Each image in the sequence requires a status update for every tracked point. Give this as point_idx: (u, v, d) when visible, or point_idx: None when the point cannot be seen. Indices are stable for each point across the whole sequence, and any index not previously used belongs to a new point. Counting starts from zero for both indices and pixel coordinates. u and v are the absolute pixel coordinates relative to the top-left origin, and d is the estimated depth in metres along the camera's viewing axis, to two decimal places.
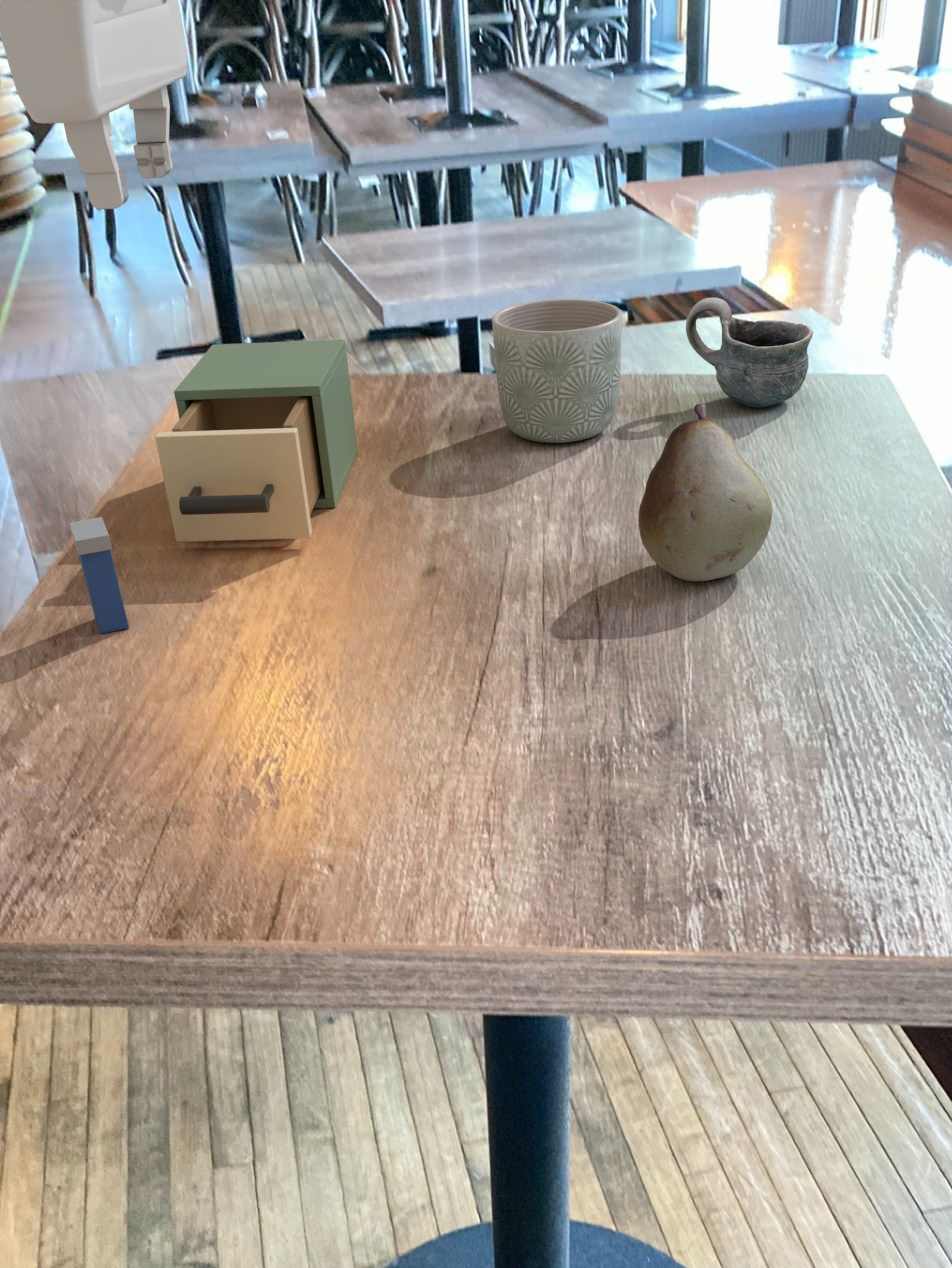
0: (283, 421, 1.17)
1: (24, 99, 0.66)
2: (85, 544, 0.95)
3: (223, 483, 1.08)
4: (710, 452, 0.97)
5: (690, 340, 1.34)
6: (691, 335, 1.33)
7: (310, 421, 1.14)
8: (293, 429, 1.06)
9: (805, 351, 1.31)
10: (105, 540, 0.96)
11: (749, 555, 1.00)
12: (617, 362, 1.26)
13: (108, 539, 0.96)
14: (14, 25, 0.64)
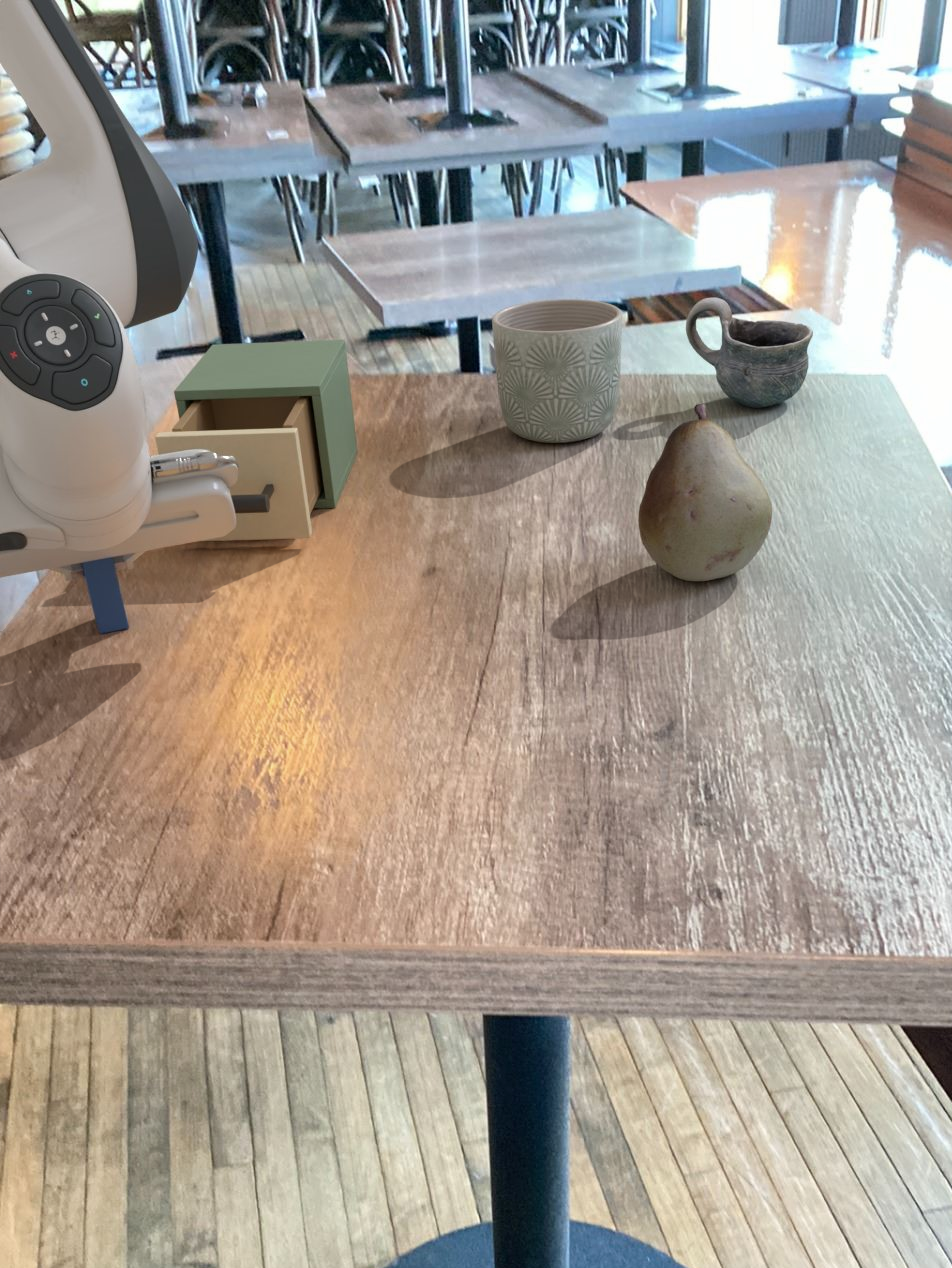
0: (283, 421, 1.17)
1: None
2: None
3: None
4: (710, 452, 0.97)
5: (690, 340, 1.34)
6: (691, 335, 1.33)
7: (310, 421, 1.14)
8: (293, 429, 1.06)
9: (805, 351, 1.31)
10: None
11: (749, 555, 1.00)
12: (617, 362, 1.26)
13: None
14: None
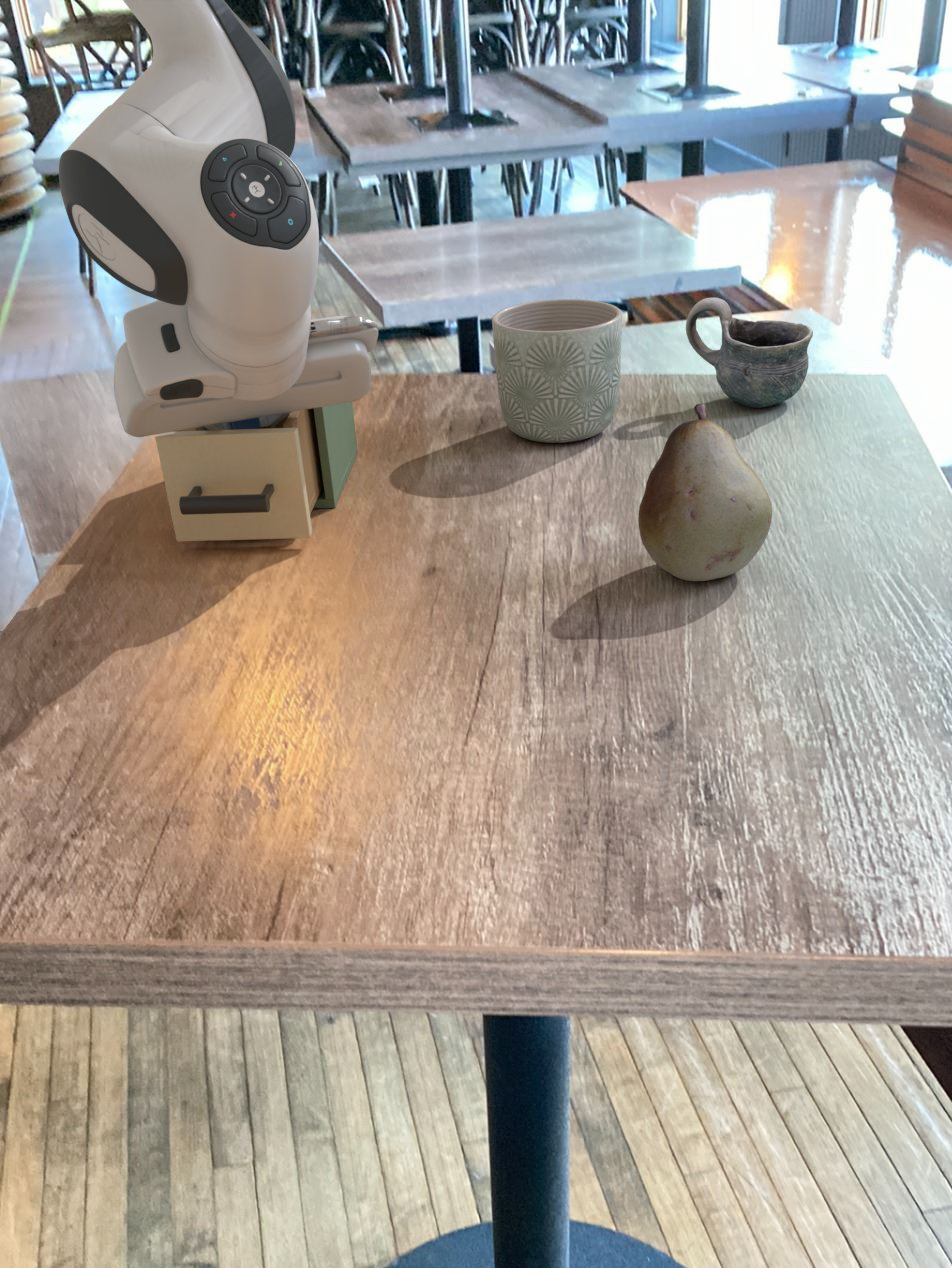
0: (283, 421, 1.17)
1: None
2: None
3: (223, 483, 1.08)
4: (710, 452, 0.97)
5: (690, 340, 1.34)
6: (691, 335, 1.33)
7: (310, 421, 1.14)
8: (293, 429, 1.06)
9: (805, 351, 1.31)
10: None
11: (749, 555, 1.00)
12: (617, 362, 1.26)
13: None
14: (116, 377, 1.01)
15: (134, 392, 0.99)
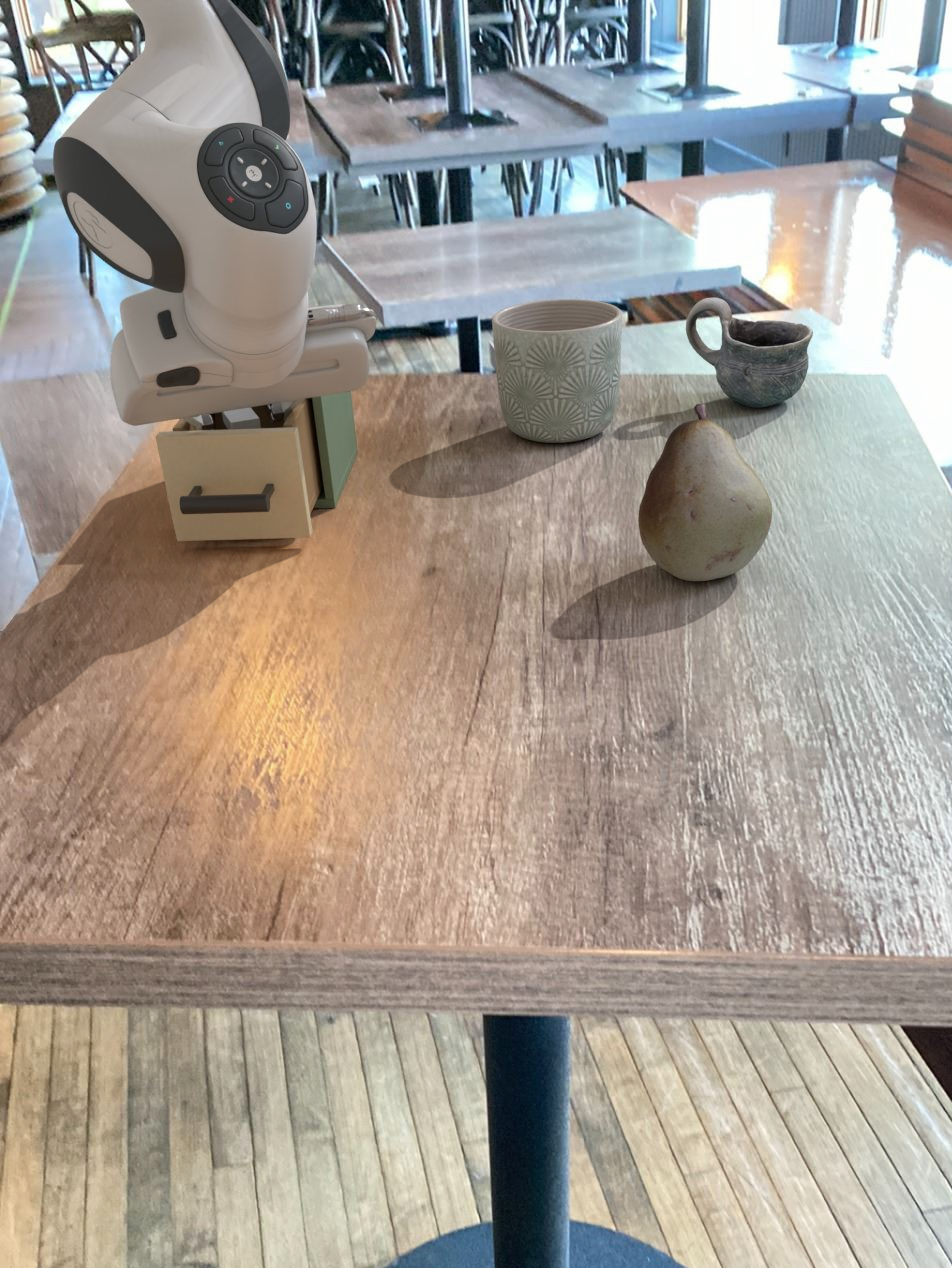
0: (283, 421, 1.17)
1: (111, 384, 1.03)
2: (239, 426, 1.09)
3: (223, 482, 1.08)
4: (710, 452, 0.97)
5: (690, 340, 1.34)
6: (691, 335, 1.33)
7: (310, 421, 1.14)
8: (293, 429, 1.06)
9: (805, 351, 1.31)
10: (256, 422, 1.09)
11: (749, 555, 1.00)
12: (617, 362, 1.26)
13: (258, 422, 1.09)
14: (112, 364, 1.00)
15: (130, 380, 0.98)
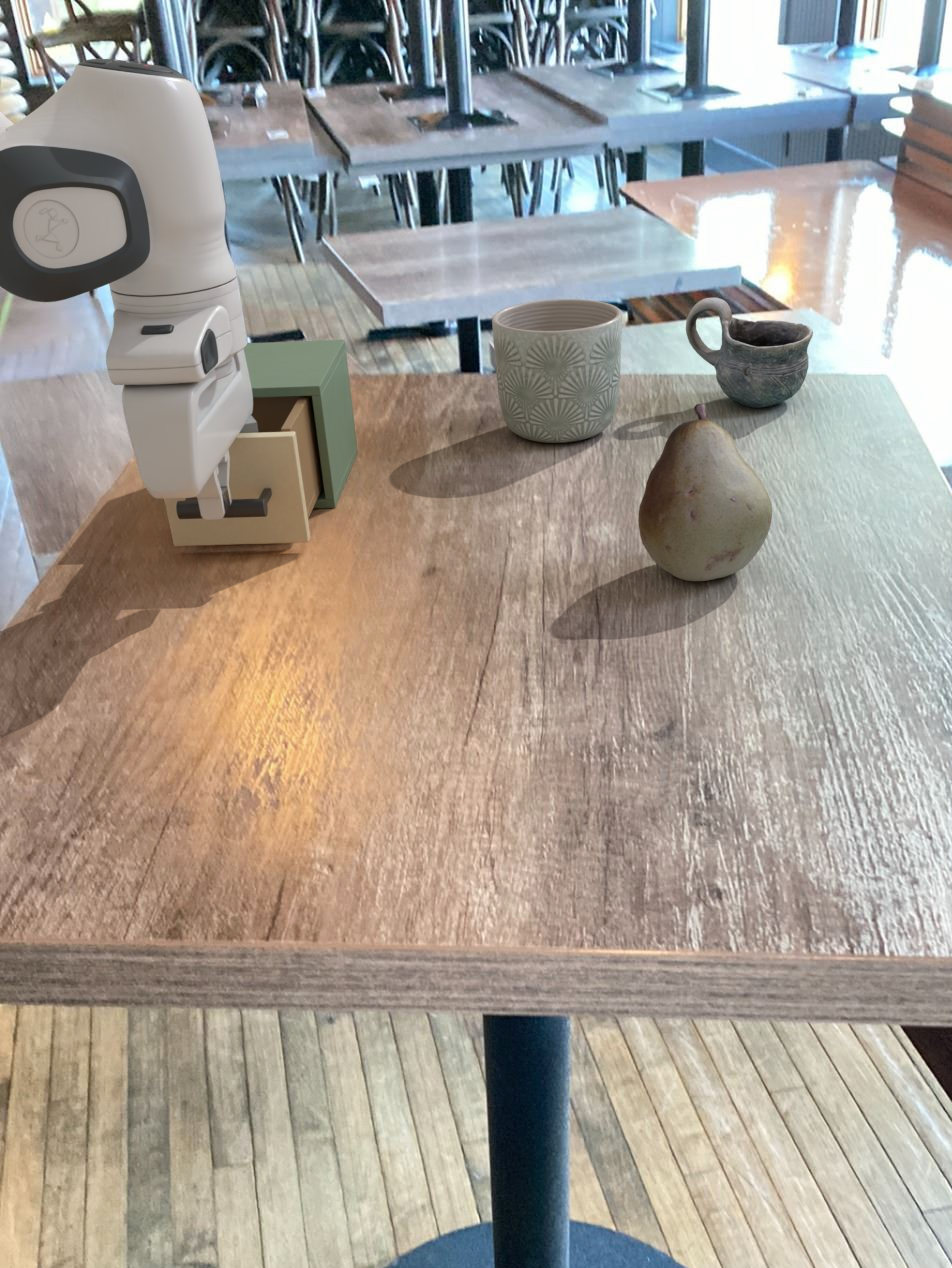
0: (281, 424, 1.17)
1: (147, 486, 0.91)
2: None
3: None
4: (710, 452, 0.97)
5: (690, 340, 1.34)
6: (691, 335, 1.33)
7: (308, 424, 1.13)
8: (291, 433, 1.05)
9: (805, 351, 1.31)
10: (253, 426, 1.08)
11: (749, 555, 1.00)
12: (617, 362, 1.26)
13: (256, 426, 1.09)
14: (142, 440, 0.90)
15: (179, 400, 0.89)
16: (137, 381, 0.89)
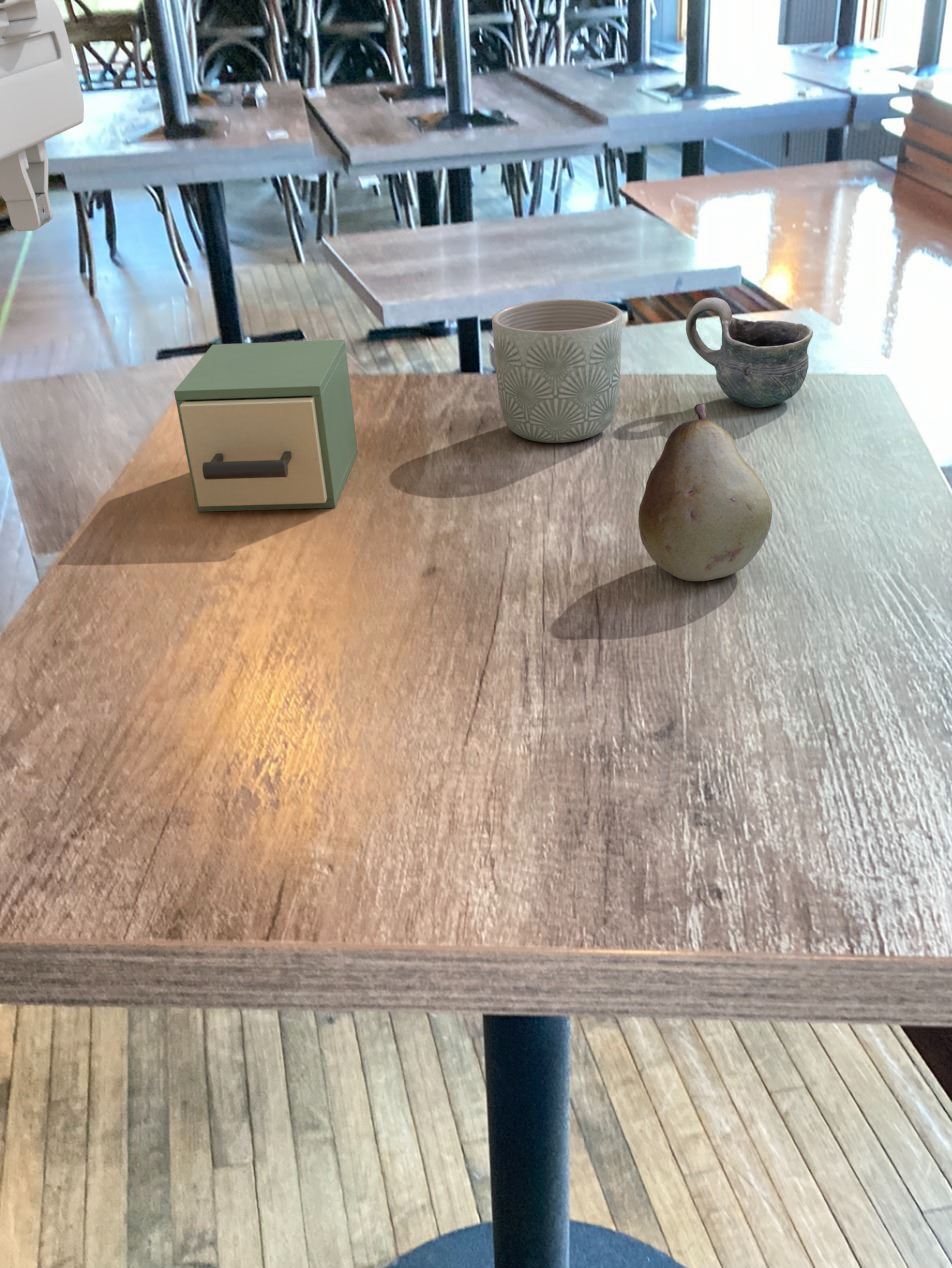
0: None
1: None
2: None
3: (243, 450, 1.14)
4: (710, 452, 0.97)
5: (690, 340, 1.34)
6: (691, 335, 1.33)
7: None
8: (310, 398, 1.12)
9: (805, 351, 1.31)
10: None
11: (749, 555, 1.00)
12: (617, 362, 1.26)
13: None
14: None
15: None
16: None
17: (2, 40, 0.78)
